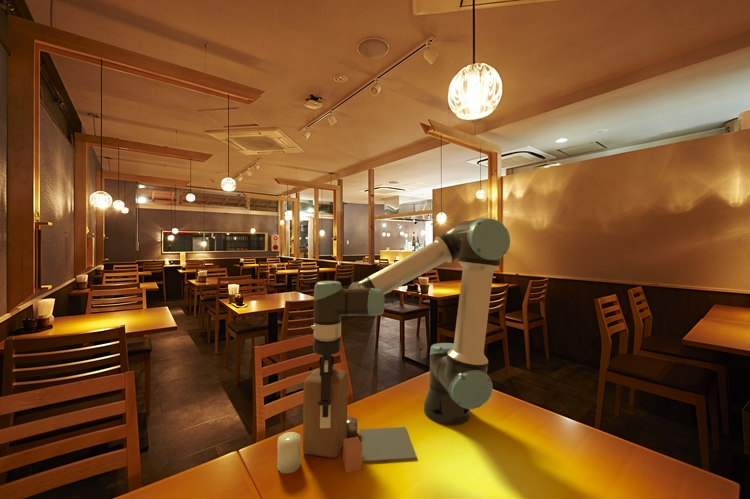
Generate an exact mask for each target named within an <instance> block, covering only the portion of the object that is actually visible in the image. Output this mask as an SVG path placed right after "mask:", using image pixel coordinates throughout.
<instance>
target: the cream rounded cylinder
mask: <svg viewBox="0 0 750 499" xmlns="http://www.w3.org/2000/svg"><path fill="white" fill-rule="evenodd" d="M276 458H277V462H276V463H277V466H276V468H278V469H277V471H278V470H279V471H280V472H279V471H278V472H279V473H280V474H284V473H286V474H285V475H287V474H292V473H294V472H296V471H298V469H300V466H301V435H300V433H297V432H296V431H288V432H284V433H283V434H280V435H279V436H278V438H277V457H276Z"/></svg>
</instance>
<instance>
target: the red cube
mask: <svg viewBox="0 0 750 499" xmlns="http://www.w3.org/2000/svg"><path fill="white" fill-rule="evenodd" d="M342 447H343V448H342V463H343V466H344V470H345V473H349V472H355V471H360V470H363V453H362V444H361V438H360V437H359V436H356V437H352V438H346V439H343V446H342Z"/></svg>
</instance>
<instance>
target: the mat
mask: <svg viewBox="0 0 750 499" xmlns="http://www.w3.org/2000/svg"><path fill="white" fill-rule="evenodd" d="M408 433H409V432H408V431H407V428H406V426H397V427H380V428H378V427H376V428H363V429H362V428H361V429H359V435H360V437H359V439H360V442H361V444H362V462H363V464H368V463H369V464H370V463H372V464H373V463H385V462H386V463H387V462H399V461H414V460H415V461H416V460H417V459H418V458H417V454H416V452H415V449H414V447H413V444H412V441H411V438H410V436H409V434H408Z"/></svg>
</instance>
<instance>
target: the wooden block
mask: <svg viewBox="0 0 750 499" xmlns="http://www.w3.org/2000/svg"><path fill="white" fill-rule="evenodd" d="M348 380H349V373H348V371H346V370H341V369H333V375H332V376H331V389H330V400H331V425H330V428H320V405H318V402H320V401H321V376H320V367H318V368H316V369H314V370H313V371H312V372H311V373H310V374H309V375H308V376H307V377H306V378H305V379H304V382H303V394H302V396H303V400H302V402H303V405H302V453H303V454H306V455H309V456H310V455H311V456H316V457H317V456H318V457H323V458H329V459H337V458H338V456H339V454H340V452H341V450H342V449H343V448H342V447H343V439H346V437H347V417H348V395H349V394H348V393H349V392H348V389H349V388H348V387H349V386H348V385H349V381H348Z"/></svg>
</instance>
